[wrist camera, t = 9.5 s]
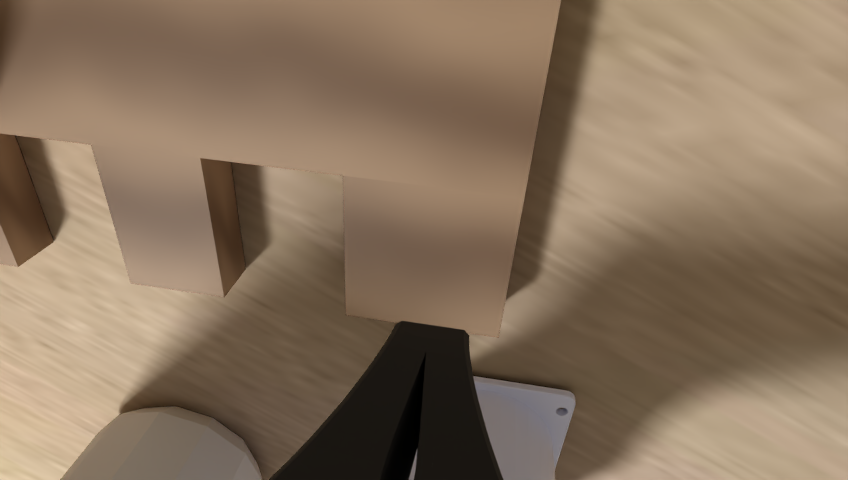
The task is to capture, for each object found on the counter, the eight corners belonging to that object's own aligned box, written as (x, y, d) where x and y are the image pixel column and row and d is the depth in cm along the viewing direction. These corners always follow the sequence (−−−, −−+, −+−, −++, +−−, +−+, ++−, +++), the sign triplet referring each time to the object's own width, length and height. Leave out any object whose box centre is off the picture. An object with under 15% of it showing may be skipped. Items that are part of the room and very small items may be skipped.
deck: (499, 305, 22) (497, 376, 18) (-28, 230, 24) (-117, 281, 21) (557, -14, 15) (569, 4, 12) (-167, -77, 18) (-329, -76, 14)
